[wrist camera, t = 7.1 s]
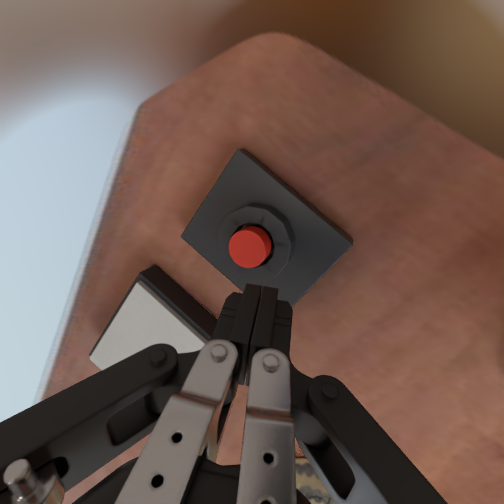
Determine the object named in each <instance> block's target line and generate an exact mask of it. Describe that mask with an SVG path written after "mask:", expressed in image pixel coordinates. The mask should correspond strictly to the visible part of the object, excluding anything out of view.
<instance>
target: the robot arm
mask: <svg viewBox="0 0 504 504" xmlns="http://www.w3.org/2000/svg"><path fill="white" fill-rule="evenodd" d="M278 291H279V288H273V287H267V286H263V289H262V286H261V285H255V284H249V283H246V286H245V289H244V292H243V294H241V293H236V292H233V293H232V294H231V295H230V296H228V297H227V298H226V300H225V303H224V306H223V308H222V311H221V314H220V316H219V319H218V321H217V324H216V327H215V329H214V332H213V335H212V337H211V340H210V341H209V342H207V343H206V344H205V345H204V346H203V347H202V349H200V350H198V351H194V352H188V353H177V350H176V349H175V348H174V347H173V346H171V345H169V344H165V343H158V344H154V345H151V346H149V347H147V348H145V349H143V350H141V351H139V352H137V353H135V354H133V355H131V356H129V357H127V358H125V359H123V360H121V361H119V362H118V363H116V364H114V365H112V366H110V367H108V368H106V369H104V370H102V371H100V372H98V373H96V374H94V375H92V376H90V377H88V378H86V379H84V380H82V381H80V382H78V383H77V384H75V385H73V386H71V387H69V388H67V389H65V390H63V391H61V392H59V393H57V394H55V395H53V396H51V397H49V398H47V399H45V400H43V401H41V402H39V403H38V404H36V405H34V406H32V407H30V408H28V409H26V410H24V411H22V412H20V413H18V414H16V415H14V416H12V417H11V418H8V419H7V420H4V421H2V422H1V423H0V504H62V502H63V499H64V494H65V492H67V491H68V490H69V489H71V488H72V487H74V486H75V485H77V484H78V483H80V482H81V481H82V480H84V479H85V478H87V477H88V476H90V475H91V474H92V473H94V472H95V471H97V470H98V469H100V468H101V467H102V466H104V465H105V464H107V463H108V462H110V461H111V460H112V459H114V458H115V457H117V456H118V455H120V454H121V453H122V452H124V451H125V450H127V449H128V448H130V447H131V446H132V445H134V444H135V443H137V442H138V441H140V440H141V439H142V438H144V437H145V436H147V435H148V434H150V433H151V432H152V433H151V435H150V437H149V439H148V440H147V442H146V444H145V446H144V448H143V450H142V452H141V454H140V456H139V457H137V458H134V459H132V460H130V461H128V462H127V463H125V464H123V465H122V466H120V467H119V468H117V469H116V470H115V471H114V472H112V473H111V474H110V475H108V476H107V477H106V478H104V479H103V480H102V481H101V482H99V483H98V484H97V485H95V486H94V487H93V488H91V489H90V490H89V491H88V492H86V493H85V494H84V495H82V496H81V497H80V498H78V499H77V500H76V501H75V502H73V503H72V504H311V502H310V501H309V500H308V499H307V498H306V496H305V495H303V494H302V493H301V492H300V491H299V490H298V489H297V488H296V463H295V437H296V440H297V443H298V445H299V447H300V448H301V450H302V451H303V453H304V455H305V456H306V458H307V459H308V461H309V463H310V464H311V466H312V467H313V469H314V471H315V472H316V474H317V476H318V477H319V479H320V480H321V482H322V484H323V485H324V487H325V488H326V490H327V492H328V493H329V495H330V496H331V498H332V500H333V501H334V503H335V504H448V503H447V502H446V501H445V500H444V499H443V498H442V497H441V495H440V494H439V493H438V492H437V491H436V490H435V489H434V487H433V486H432V485H431V484H430V483H429V482H428V480H427V479H426V478H425V477H424V476H423V475H422V474H421V472H420V471H419V470H418V469H417V468H416V467H415V466H414V464H413V463H412V462H411V461H410V460H409V459H408V457H407V456H406V455H405V454H404V453H403V452H402V451H401V449H400V448H399V447H398V446H397V445H396V444H395V443H394V441H393V440H392V439H391V438H390V437H389V436H388V435H387V433H386V432H385V431H384V430H383V429H382V428H381V426H380V425H379V424H378V423H377V422H376V421H375V420H374V418H373V417H372V416H371V415H370V414H369V413H368V412H367V410H366V409H365V408H364V407H363V406H362V405H361V404H360V402H359V401H358V400H357V399H356V398H355V397H354V395H353V394H352V393H351V392H350V391H349V390H348V389H347V387H346V386H345V385H344V384H343V383H342V382H341V381H339V380H338V379H336V378H334V377H332V376H327V375H320V376H317V377H315V378H313V379H312V378H310V377H308V376H306V375H304V374H303V373H301V372H299V371H298V370H297V369H296V368H295V367H294V366H293V364H292V363H291V360H290V357H289V352H290V339H291V326H292V313H293V310H292V307H291V305H290V303H289V301H283V300H277V297H278ZM261 292H262V294H261ZM246 372H247V376H246ZM245 377H246V386H249V390H248V398H247V406H246V415H245V424H244V432H243V441H242V450H241V459H240V465H225V466H222V465H218V464H216V457H217V453H218V449H219V446H220V443H221V439H222V436H223V433H224V430H225V427H226V424H227V421H228V418H229V415H230V411H231V408H232V405H233V402H234V397H235V395H236V391H237V387H238V384H241V385H244V382H245Z"/></svg>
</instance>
